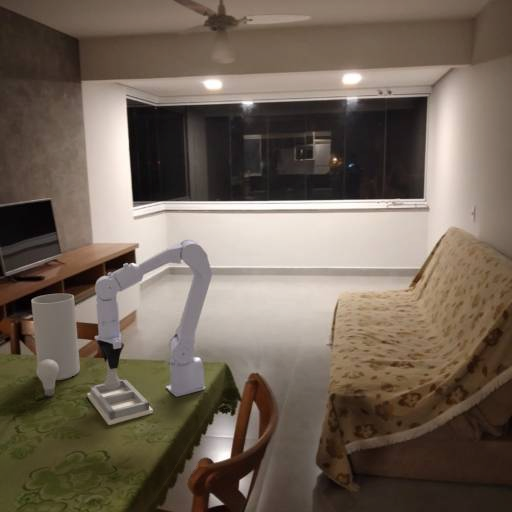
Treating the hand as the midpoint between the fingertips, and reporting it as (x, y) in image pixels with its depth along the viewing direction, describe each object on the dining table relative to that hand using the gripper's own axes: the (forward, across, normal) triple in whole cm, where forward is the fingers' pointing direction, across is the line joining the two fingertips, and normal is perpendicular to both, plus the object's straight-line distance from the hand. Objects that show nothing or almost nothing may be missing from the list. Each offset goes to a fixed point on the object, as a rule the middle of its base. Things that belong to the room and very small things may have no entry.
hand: (111, 366), depth 150 cm
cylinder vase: (+10, -28, -9) cm, 31 cm away
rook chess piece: (+6, 0, 0) cm, 6 cm away
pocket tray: (+10, +5, 0) cm, 11 cm away
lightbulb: (+10, -12, -15) cm, 22 cm away
